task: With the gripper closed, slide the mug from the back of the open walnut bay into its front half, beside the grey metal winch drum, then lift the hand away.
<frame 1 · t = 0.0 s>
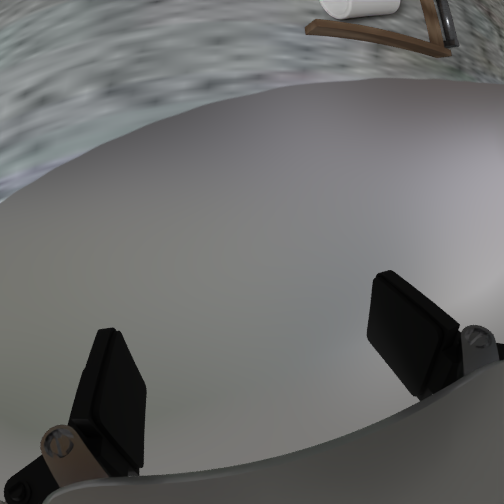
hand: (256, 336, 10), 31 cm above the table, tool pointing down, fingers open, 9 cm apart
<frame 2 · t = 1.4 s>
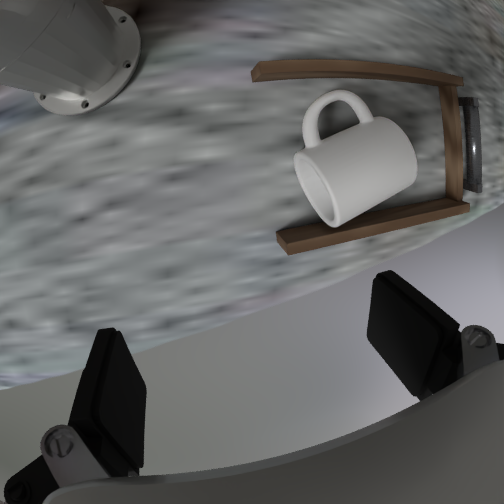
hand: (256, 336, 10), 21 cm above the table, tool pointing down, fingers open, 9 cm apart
mug: (330, 148, 30), on the table
bay: (376, 144, 30), on the table
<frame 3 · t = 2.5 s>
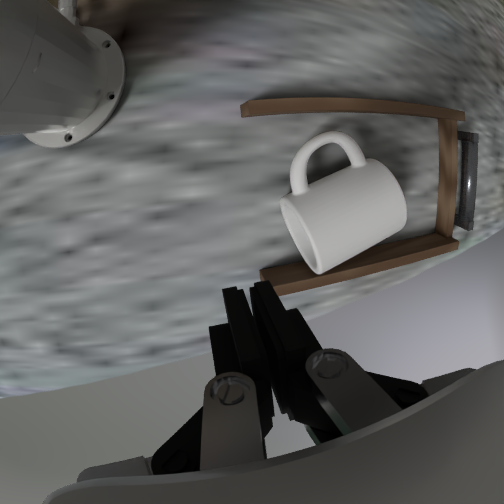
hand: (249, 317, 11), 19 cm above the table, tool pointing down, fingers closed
mug: (319, 187, 30), on the table
bay: (367, 182, 31), on the table
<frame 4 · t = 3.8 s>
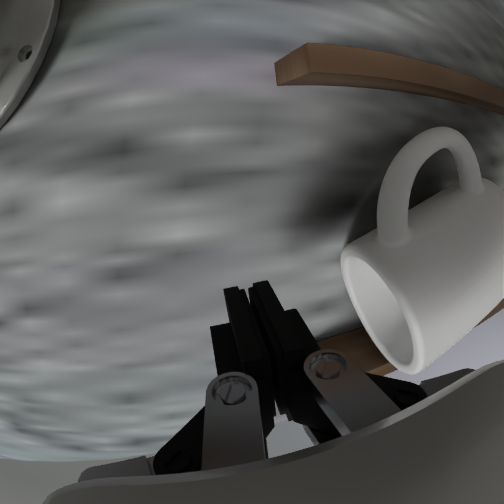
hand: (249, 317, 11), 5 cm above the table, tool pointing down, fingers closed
mug: (395, 216, 17), on the table
bay: (454, 208, 18), on the table
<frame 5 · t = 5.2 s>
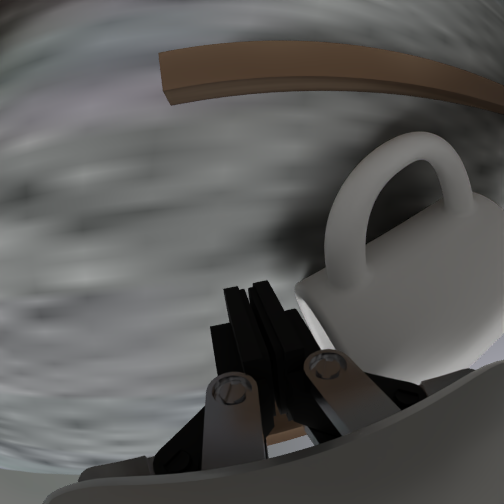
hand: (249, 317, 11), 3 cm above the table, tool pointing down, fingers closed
mug: (368, 241, 15), on the table, touching gripper
bay: (428, 230, 16), on the table
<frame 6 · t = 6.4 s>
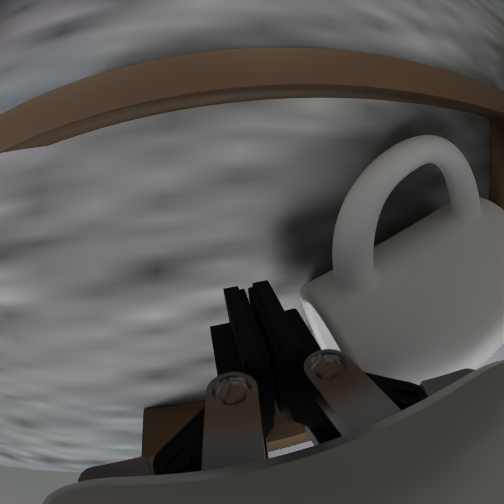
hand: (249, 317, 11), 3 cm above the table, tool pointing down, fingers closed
mug: (374, 245, 15), on the table, touching gripper
bay: (354, 257, 15), on the table
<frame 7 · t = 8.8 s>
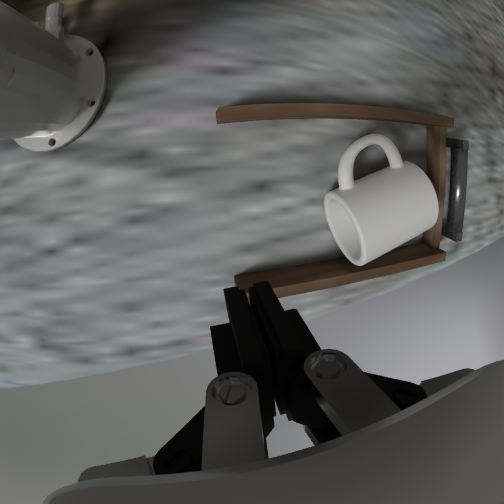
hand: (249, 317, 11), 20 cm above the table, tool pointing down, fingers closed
mug: (357, 186, 31), on the table
bay: (348, 190, 31), on the table
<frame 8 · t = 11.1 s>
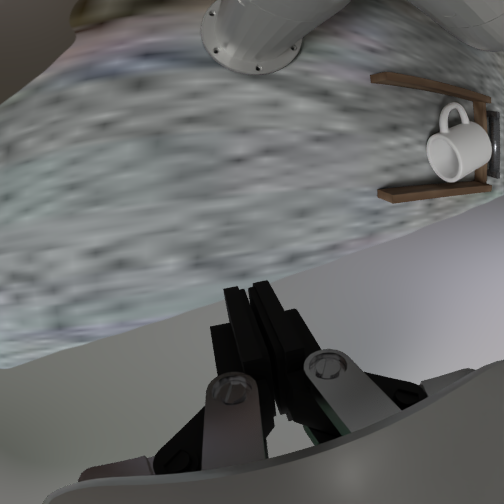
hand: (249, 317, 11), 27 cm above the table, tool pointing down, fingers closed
mug: (440, 136, 39), on the table
bay: (436, 137, 39), on the table
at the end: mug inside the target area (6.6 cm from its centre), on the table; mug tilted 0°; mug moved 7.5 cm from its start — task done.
